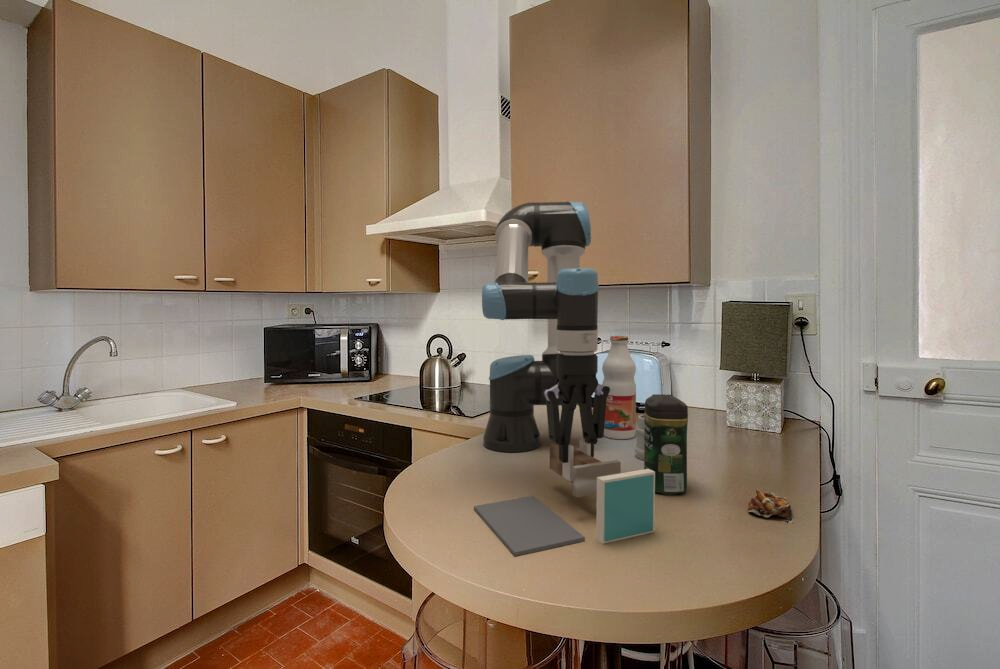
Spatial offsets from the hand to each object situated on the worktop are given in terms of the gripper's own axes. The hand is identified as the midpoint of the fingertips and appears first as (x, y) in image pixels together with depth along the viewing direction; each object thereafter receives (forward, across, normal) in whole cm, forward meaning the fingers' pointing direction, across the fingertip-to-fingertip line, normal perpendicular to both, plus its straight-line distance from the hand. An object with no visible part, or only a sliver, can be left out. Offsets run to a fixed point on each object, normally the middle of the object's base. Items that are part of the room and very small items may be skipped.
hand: (576, 477), depth 91 cm
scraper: (+1, 0, +1) cm, 1 cm away
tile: (+5, 0, -15) cm, 16 cm away
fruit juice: (+5, +35, +35) cm, 50 cm away
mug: (+5, +29, +14) cm, 33 cm away
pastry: (+5, +30, -16) cm, 35 cm away
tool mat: (+5, -13, -5) cm, 15 cm away
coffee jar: (+5, +20, -1) cm, 21 cm away
